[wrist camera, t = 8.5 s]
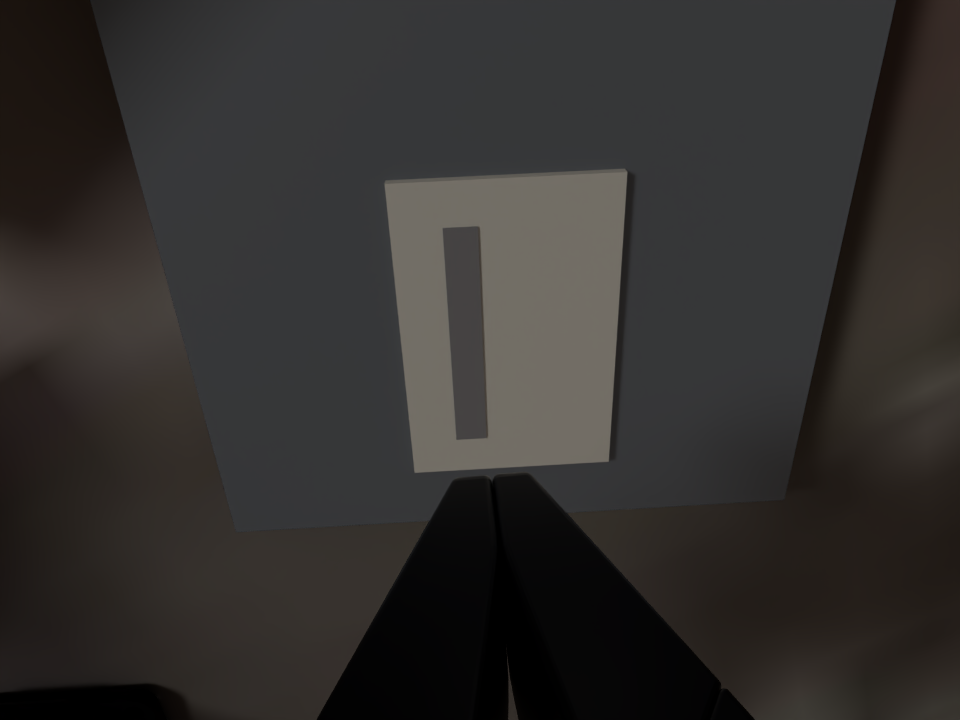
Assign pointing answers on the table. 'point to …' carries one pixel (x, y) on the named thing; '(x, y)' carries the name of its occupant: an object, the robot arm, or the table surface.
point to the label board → (496, 238)
